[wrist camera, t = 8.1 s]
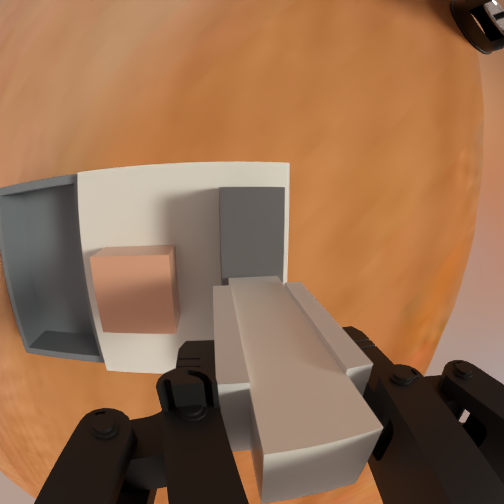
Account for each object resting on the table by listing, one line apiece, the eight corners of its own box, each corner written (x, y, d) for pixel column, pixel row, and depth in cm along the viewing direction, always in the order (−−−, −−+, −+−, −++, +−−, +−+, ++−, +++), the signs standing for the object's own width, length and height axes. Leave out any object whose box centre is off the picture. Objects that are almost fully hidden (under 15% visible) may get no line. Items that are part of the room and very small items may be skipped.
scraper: (218, 187, 15) (242, 189, 3) (271, 186, 16) (449, 200, 3) (224, 357, 18) (249, 543, 5) (268, 354, 18) (332, 527, 6)
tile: (105, 247, 16) (89, 257, 13) (175, 244, 16) (169, 254, 14) (115, 314, 17) (103, 332, 14) (180, 314, 17) (176, 333, 15)
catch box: (22, 186, 18) (-5, 189, 14) (103, 174, 19) (81, 173, 15) (45, 332, 21) (26, 352, 17) (121, 338, 22) (108, 363, 18)
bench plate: (105, 174, 19) (77, 172, 14) (272, 168, 21) (289, 162, 16) (123, 338, 22) (107, 370, 18) (269, 335, 24) (281, 367, 19)
